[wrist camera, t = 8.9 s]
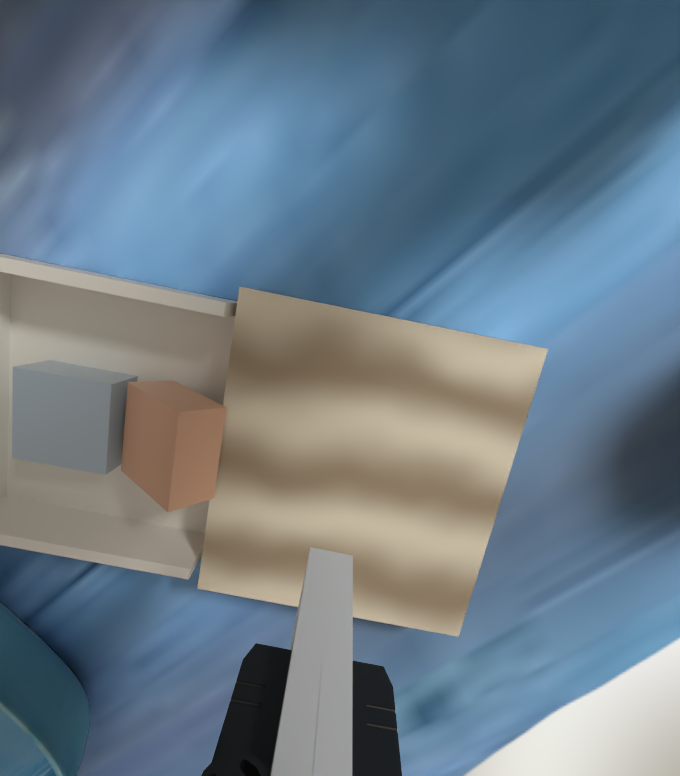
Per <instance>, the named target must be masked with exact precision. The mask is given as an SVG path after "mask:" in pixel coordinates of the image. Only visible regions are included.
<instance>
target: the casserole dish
mask: <svg viewBox="0 0 680 776" xmlns="http://www.w3.org/2000/svg"><path fill="white" fill-rule="evenodd" d="M89 725H90V709H89V703H88V700H87V697H86V693H85V691H84V689H83V687H82V685H81V684H80V682H79V680H78V679H77V677H76V676H75V675H74V674H73V672H72V671H71V670H70V669H69V667H68V666H67V665H66V664H65V663H64V662H63V661H62V659H61V658H60V657H59V656H58V655H57V654H56V653H55V652H53V651H52V650H51V649H50V648H49V647H48V646H47V645H46V644H45V643H44V642H43V641H42V640H41V639H40V638H39V637H38V636H37V635H36V634H35V633H34V632H33V631H32V630H31V629H30V628H29V627H28V626H27V625H25V624H24V623H23V622H22V621H21V620H20V619H19V618H18V617H17V616H16V615H14V614H13V613H12V612H11V611H10V610H9V609H8V608H7V607H6V606H5V605H3V604H2V603H1V602H0V776H77V773H78V770H79V767H80V764H81V760H82V757H83V753H84V750H85V746H86V742H87V737H88V733H89Z"/></svg>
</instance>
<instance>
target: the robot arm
mask: <svg viewBox="0 0 680 776" xmlns="http://www.w3.org/2000/svg"><path fill="white" fill-rule="evenodd" d="M202 776H402V772H401V762H400V752H399V742H398V733H397V723H396V713H395V703H394V693H393V686H392V684H391V682H390V680H389V677H388V675H387V673H386V671H385V669H384V667H383V666H377V665H372V664H367V663H362V662H357V661H353V555H348V554H343V553H338V552H333V551H328V550H323V549H317V548H312V547H310V552H309V557H308V561H307V566H306V571H305V576H304V581H303V586H302V591H301V595H300V600H299V605H298V610H297V615H296V621H295V627H294V632H293V638H292V643H291V649H290V650H288V649H282V648H277V647H272V646H267V645H262V644H255V645H254V647H253V648H252V649H251V650H250V652H249V653H248V654H247V655H246V656H245V658H244V659H243V662H242V665H241V668H240V671H239V675H238V678H237V682H236V684H235V688H234V691H233V694H232V698H231V702H230V704H229V707H228V711H227V714H226V717H225V720H224V724H223V727H222V730H221V734H220V737H219V740H218V743H217V747H216V750H215V753H214V757H213V760H212V763H211V764H210V765H209V766H208V767H207V768H206V769H205V770H204V771H203V774H202Z"/></svg>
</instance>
